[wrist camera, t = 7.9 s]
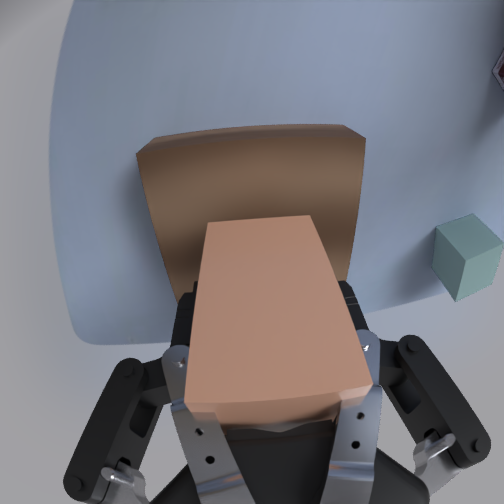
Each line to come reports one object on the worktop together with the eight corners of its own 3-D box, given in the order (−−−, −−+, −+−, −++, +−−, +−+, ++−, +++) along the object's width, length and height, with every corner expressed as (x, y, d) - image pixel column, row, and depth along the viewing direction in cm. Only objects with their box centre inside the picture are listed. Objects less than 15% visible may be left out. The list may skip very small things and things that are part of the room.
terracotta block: (208, 222, 14) (183, 402, 6) (309, 215, 14) (373, 384, 6) (221, 295, 17) (216, 445, 9) (304, 289, 17) (337, 434, 9)
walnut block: (156, 136, 16) (135, 153, 13) (341, 123, 16) (365, 138, 13) (187, 278, 23) (181, 313, 20) (328, 267, 23) (341, 301, 20)
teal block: (435, 226, 21) (465, 260, 17) (473, 213, 20) (504, 243, 16) (431, 267, 24) (455, 302, 20) (466, 252, 23) (491, 284, 19)
